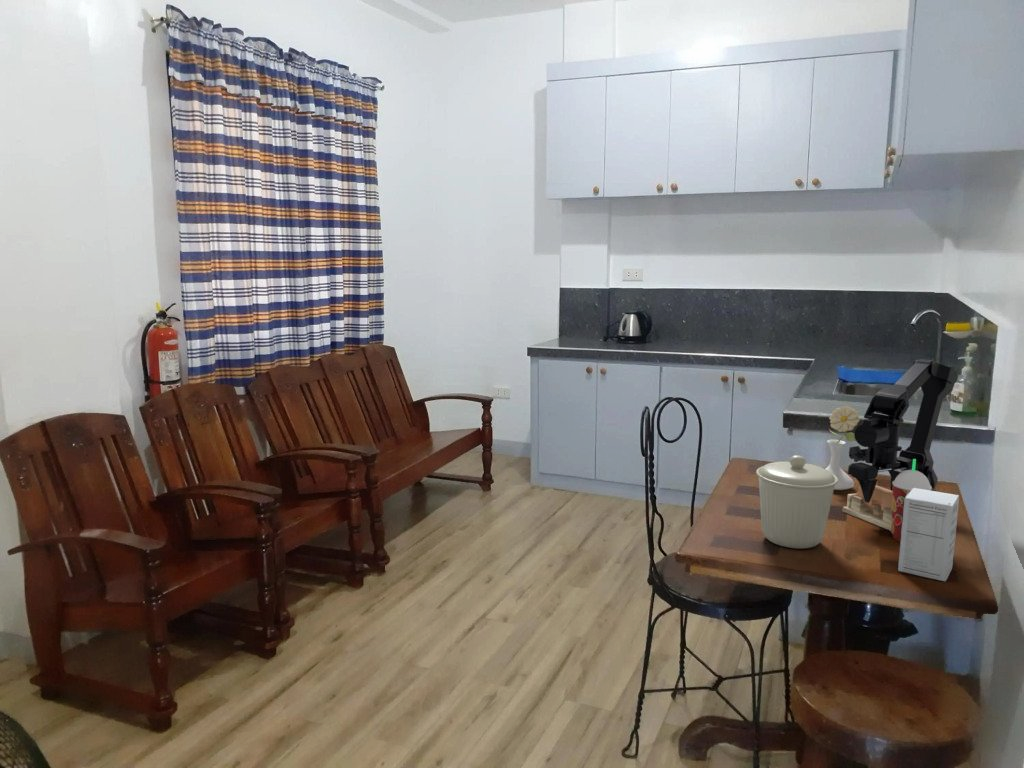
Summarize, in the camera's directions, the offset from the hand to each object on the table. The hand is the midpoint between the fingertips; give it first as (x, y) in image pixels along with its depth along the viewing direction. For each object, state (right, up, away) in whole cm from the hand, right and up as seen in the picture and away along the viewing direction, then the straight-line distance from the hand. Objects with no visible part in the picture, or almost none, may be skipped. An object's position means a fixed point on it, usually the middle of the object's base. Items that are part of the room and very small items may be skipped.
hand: (880, 499), depth 195 cm
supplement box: (-5, -11, -30) cm, 32 cm away
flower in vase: (0, -1, +27) cm, 27 cm away
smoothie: (0, -8, -13) cm, 15 cm away
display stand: (0, -5, +1) cm, 5 cm away
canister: (-28, -8, -14) cm, 33 cm away
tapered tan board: (0, -2, 0) cm, 2 cm away
